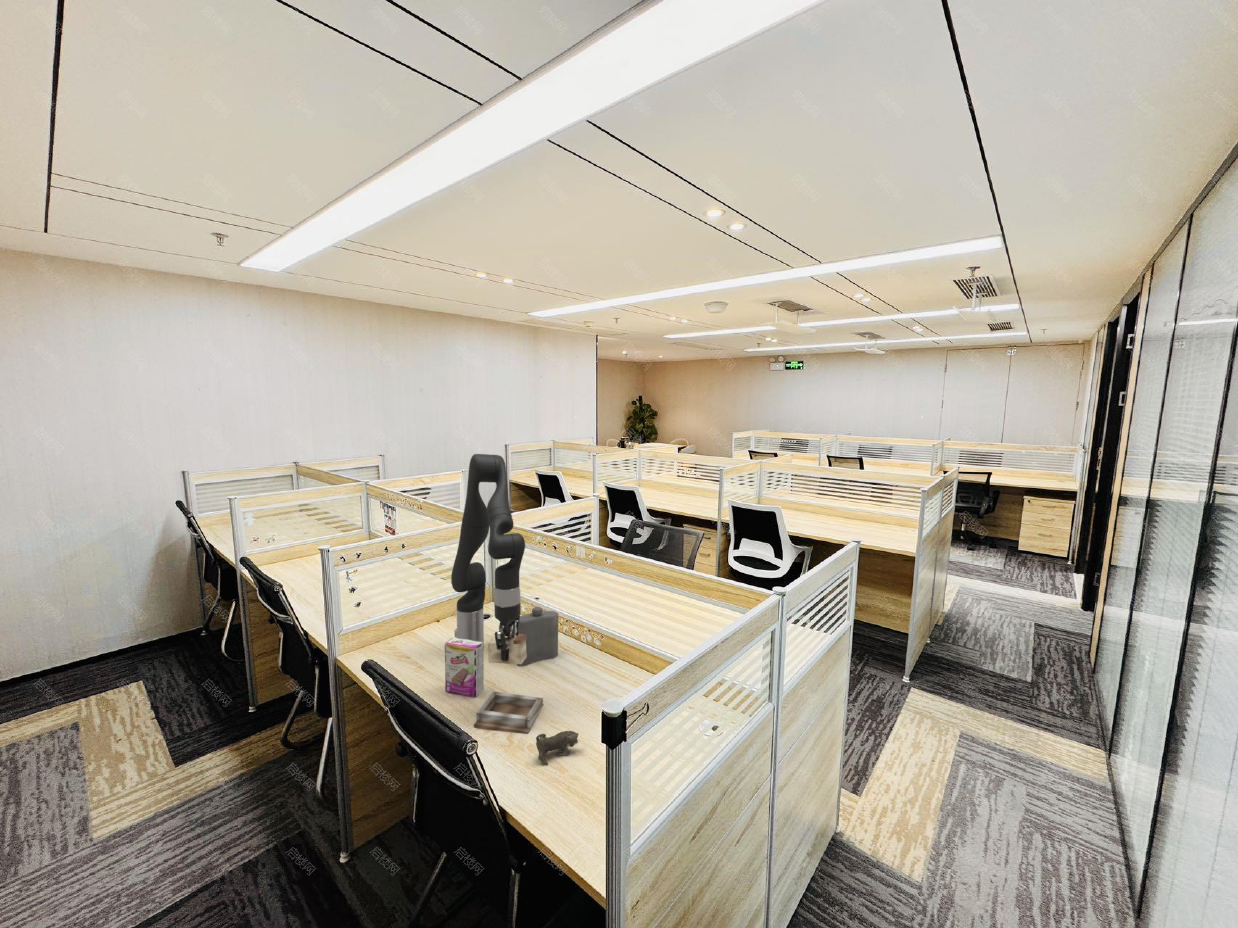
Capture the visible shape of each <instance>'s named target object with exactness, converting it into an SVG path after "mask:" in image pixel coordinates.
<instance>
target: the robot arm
mask: <svg viewBox="0 0 1238 928" xmlns="http://www.w3.org/2000/svg"><path fill="white" fill-rule="evenodd" d="M467 476H468V477H467V486H466V497H465V504H464V510H463V516H462V517H461V518H462V519H461V525H460V526H461V527H460V534H459V541H458V547H457V551H456V555H455V559H454V562H453V566H452V569H451V575H450V576H451V578H450V579H451V580H450V581H451V582H450V583H451V586H452V589H453V590H454V591H455V592H456V593H465V592H466V593H465V594H464V595H463V596H461V597H459V599H458V600H457V601H456V628H455V630H454V637H457V638H462V639H467V640H473V641H478V642H483V644H484V641H485V638H484V635H485V634H484V631H485V630H484V629H485V628H484V626H485V625H484V619H485V618H484V603H485V600H486V587H487V585H486V582H487V580H486V579H487V575H486V570H485V567H484V565H483V564H482V563H481V562H479V561H478V562H477V561H476V562H475V561H474V562H472V559H473V558H474V556H475V555H476V553H477V552H478V551H479V549H480V548H481V546H482V545H483V544H484V542H485V541H486V540H487V538H488V535H489V538H488V545H487V552H488V555H489V556H490V558H492V559H493V560H506V559H510V560H509V561H508V562H507V563H504V564H502V565H499V566H497V567H496V568H495V570H494V592H493V593H494V596H493V599H494V600H493V601H494V602H493V603H494V618H495V619H496V620H497V621H499V625H498V631H495V632H494V637H495V640H496V646H497V650H501V660H502V661H508V660H509V641H510V640H511V637H514V638H515V637H516V636H518V634H519V622H520V616H521V614H522V613H521V612H522V610H521V607H522V606H521V588H520V571H521V565H522V561H523V558H524V554H525V549H526V540H525V538H524V537H523V535H522V534H520V533H518V532H515V533H510V532H511V531H512V530H513V528H514V526H515V525H514V524H515V523H514V519H513V515H512V512H511V511H512V510H511V507H510V503H509V490H508V478H507V467H506V461H505V460H504V458H503V456H502V455H498V454H487V453H474V454H473V455H472V456H471V457H470V460H469V466H468V475H467ZM480 483H495V486H496V487H495V490H494V492H493V493H492V495H491V496H490V498H489V501H488V503H487V506H486V503H485V502H484V500H483V499H482V498H483V497H482V496H481V493H480ZM505 637H508V638H505ZM483 648H485V645H483Z"/></svg>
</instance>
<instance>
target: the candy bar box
mask: <svg viewBox="0 0 1238 928" xmlns="http://www.w3.org/2000/svg"><path fill="white" fill-rule="evenodd" d="M483 645H484V644H483V642H478V641H473V640H467V639H462V638H457V637H455V636H453V637H451V638H450V639H449V640H447V641H446V642H445V643H444V672H445V675H444V676H445V679H444V682H445V687H444V688H445V692H446V693H452V694H456V695H462V696H465V697H471V698H477V697H478V696H479V695H480V694H481V693H482V692H483V691H484V689H485V688H484V687H485V685H484V680H485V679H484V670H485V669H484V664H485V663H484V654H485V653H484V652H485V651H484V648H485V647H484V648H483ZM484 646H485V645H484Z"/></svg>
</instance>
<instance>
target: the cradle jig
mask: <svg viewBox="0 0 1238 928" xmlns="http://www.w3.org/2000/svg"><path fill="white" fill-rule="evenodd" d="M543 707H544V698H543V697H538V696H529V695H523V694H517V693H516V694H515V693H507V692H501V691H500V692H499V691H492V692H491V693H490V694H489V695H488V697H487V698H486V700H484V702H483V703H482V704H481V706H480V708H479V709H478V710H477V711H476V717H475V718H476V719H475V720H476V721H475V722H474V723H473V728H475V729H476V728H477V729H482V730H490V731H497V732H508V733H517V734H526V735H529V733H530V731H531V729H532V727H533V726H534V723H535V722H536V720H537V718H538V716H539V714H540V713H541V710H542V708H543Z"/></svg>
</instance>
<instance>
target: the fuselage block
mask: <svg viewBox="0 0 1238 928" xmlns="http://www.w3.org/2000/svg"><path fill="white" fill-rule="evenodd" d="M505 638H508V637H507V636H505ZM526 639H527V634H519V635H518V636H517V637H515V638H514V637H511V640H510V641H509V660H508V661H502V660H501V650H497V646H496V640H495V636H493V637H492V638H491V639H490V640H489V641H488V643H487V648H488V649H487V650H488V651H487V652H488V662H489V663H490V664H507V665H508V664H510V665H517V664H522V663H523V661H524V660H525V659H526V657H527V652H526Z"/></svg>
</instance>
